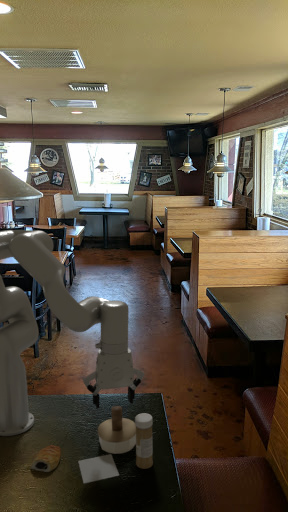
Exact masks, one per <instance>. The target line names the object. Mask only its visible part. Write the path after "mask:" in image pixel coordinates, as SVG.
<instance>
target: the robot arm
mask: <svg viewBox="0 0 288 512" xmlns="http://www.w3.org/2000/svg"><path fill="white" fill-rule="evenodd" d="M53 251H54V241H53V239H52V236H50V235H49V234H48V233H47V232H45V231H43V230H38V229H37V230H36V229H35V230H25V229H23V230H21V229H20V230H19V229H18V230H17V229H14V230H13V229H7V230H0V261H1V260H5V259H9V258H12V259H14V260H15V261H16V262H17V263H18V264H19V265H20V266H21V267H22V268H23V269H24V270H25V271H26V272H27V273H28V274H29V275H30V276H31V277H32V278H33V279H34V280H35V281H36V282H37V283H38V284H39V285H40V287H41V288H42V290H43V291H42V292H43V296H44V298H45V301H46V304H47V306H48V309H49V310H50V311H51V312H52V313H53V315H54V316H55V317H56V319H58V320H59V321H60V322H61V323H62V324H63V325H64V326H65V327H66V328H67V329H69V330H71V331H73V332H75V333H84V332H86V331H87V330H90V329H91V328H92V327H93V326H95V325H97V324H100V340H99V342H97V343H95V349H96V350H97V349H99V350H97V354H96V355H97V357H96V364H95V371H93V372H91V373H90V374H88V375H87V376H85V377H83V378H82V382H83V384H84V386H85V387H86V389H87V390H88V392H89V393H92V404H93V405H95V407H96V409H100V394H99V392H101V390H112V389H113V390H114V389H120V388H127V400H128V402H129V404H131V405H132V404H134V400H135V398H136V397H135V396H136V395H135V393H136V390H137V387H138V386H139V385H140V384H141V383H142V380H143V378H144V377H145V373H144V371H143V370H141V369H138V368H135V367H134V363H133V356H132V354H133V353H132V350H131V348H129V305H128V304H127V303H126V302H125V301H122V300H117V299H115V300H109V299H106V298H102V297H99V296H96V295H95V296H94V295H93V296H88V297H86V298H84V299H82V300H80V301H77V300H76V298H74V297H73V296H72V295H71V294H70V292H69V291H68V290H67V288H66V286H65V283H64V275H65V272H66V266H65V265H64V264H63V263H62V262H61V261H60V260H59V259H58V258H57V257H56V256H55V255H54V254H53ZM7 321H8V324H6V325H3V326H1V327H0V436H2V437H12V436H17V435H19V434H22V433H25V432H27V431H28V430H29V429H30V428H32V427H33V426H34V425H35V416H34V415H33V414H32V413H31V412H29V398H28V397H29V396H28V382H27V379H28V378H27V371H26V366H25V362H24V361H23V359H22V357H21V354H22V353H23V352H24V351H26V350H27V349H28V348H30V347H32V346H33V345H35V344H36V343H37V341H38V339H39V335H40V333H39V326H38V323H37V320H36V317H35V314H34V311H33V308H32V303H31V302H30V299H29V297H28V295H27V293H26V292H25V291H24V290H23V289H22V288H20V287H18V286H13V285H12V286H6V285H5V283H4V280H3V277H2V275H1V274H0V324H1V323H4V322H7ZM134 375H136V377H135V379H134ZM93 380H95V383H94V385H93V384H91V383H90V382H91V381H93Z"/></svg>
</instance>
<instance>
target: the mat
mask: <svg viewBox="0 0 288 512" xmlns="http://www.w3.org/2000/svg"><path fill="white" fill-rule="evenodd" d="M77 463H78V464H79V470H80V475H81V478H82V483H83V484H88V483H92V482H97V481H101V480H106V479H109V478H115V477H118V476H119V477H120V473H119V470H118V469H117V465H116V463H115V461H114V458H113V455H112V453H108V454H105V455H99V456H95V457H91V458H86V459H81V460H78V462H77Z"/></svg>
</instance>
